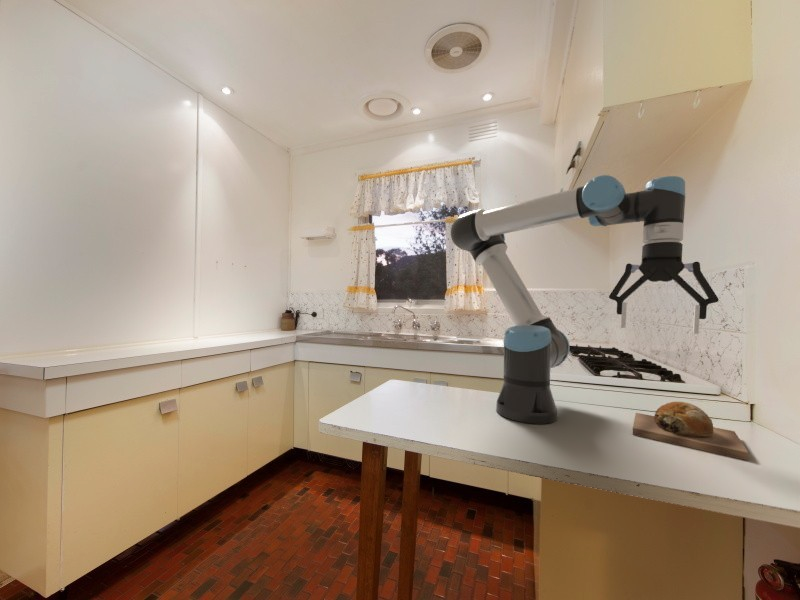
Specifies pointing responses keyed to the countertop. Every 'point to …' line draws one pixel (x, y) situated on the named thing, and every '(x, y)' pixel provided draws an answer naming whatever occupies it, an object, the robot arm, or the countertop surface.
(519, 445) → the countertop surface
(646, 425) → the cutting board
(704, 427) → the bread roll
